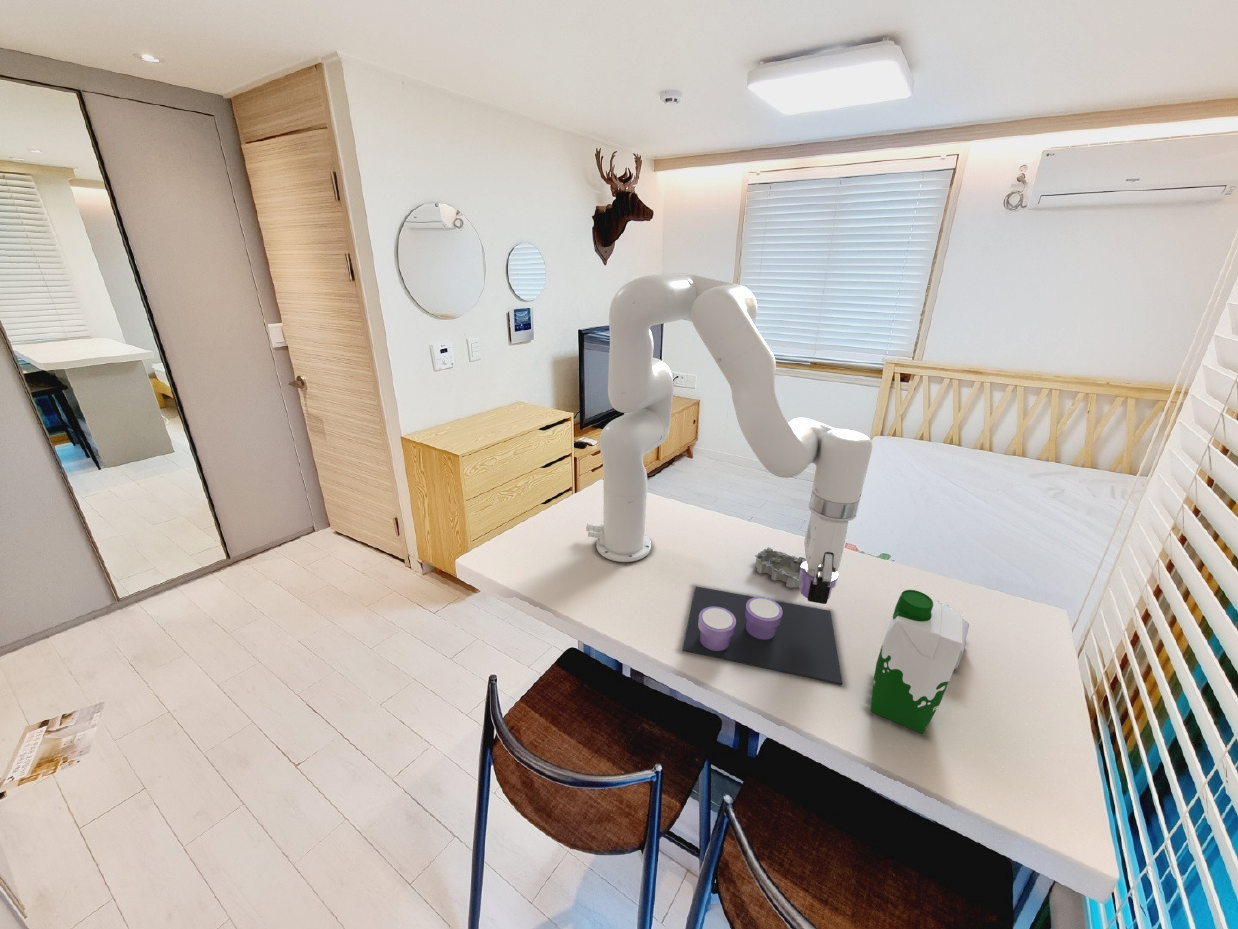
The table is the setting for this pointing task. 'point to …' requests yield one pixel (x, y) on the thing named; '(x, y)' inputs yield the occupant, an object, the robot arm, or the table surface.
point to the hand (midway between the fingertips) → (815, 588)
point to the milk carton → (916, 660)
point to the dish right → (807, 577)
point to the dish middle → (762, 617)
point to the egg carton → (780, 566)
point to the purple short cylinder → (716, 628)
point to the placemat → (793, 649)
